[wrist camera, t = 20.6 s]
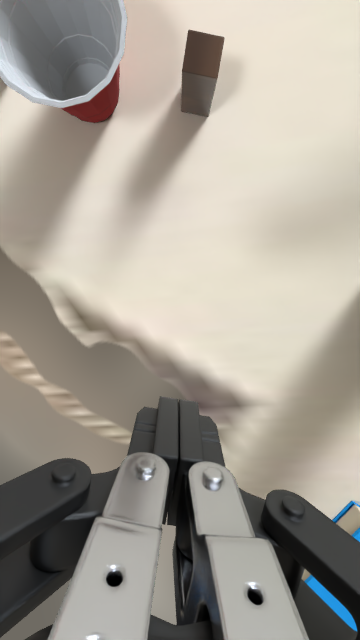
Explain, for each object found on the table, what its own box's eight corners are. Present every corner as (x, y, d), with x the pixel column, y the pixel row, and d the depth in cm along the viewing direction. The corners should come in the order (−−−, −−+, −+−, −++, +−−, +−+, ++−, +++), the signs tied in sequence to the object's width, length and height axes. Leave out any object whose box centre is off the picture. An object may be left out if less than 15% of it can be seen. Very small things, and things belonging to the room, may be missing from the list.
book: (250, 637, 46) (367, 525, 41) (245, 604, 50) (350, 499, 45) (337, 683, 49) (458, 582, 44) (325, 648, 53) (434, 552, 48)
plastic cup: (73, 168, 35) (20, 129, 23) (22, 66, 33) (-65, -35, 21) (160, 123, 34) (152, 59, 22) (115, 14, 32) (78, -120, 20)
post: (213, 85, 33) (224, 36, 25) (208, 117, 34) (217, 78, 26) (185, 80, 33) (188, 29, 25) (181, 111, 34) (181, 71, 26)
